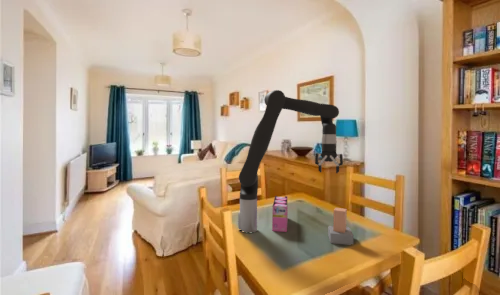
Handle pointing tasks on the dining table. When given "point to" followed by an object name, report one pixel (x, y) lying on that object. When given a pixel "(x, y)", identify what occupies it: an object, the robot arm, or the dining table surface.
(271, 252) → the dining table surface
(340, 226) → the terracotta block
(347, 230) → the grey base block
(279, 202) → the gum box
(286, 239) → the dining table surface
